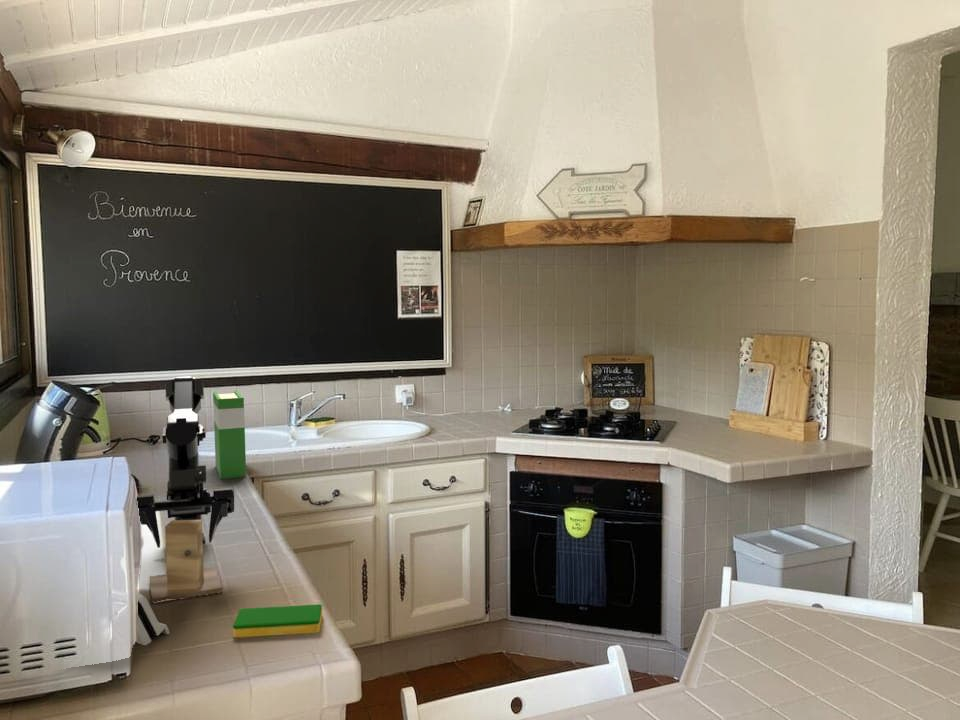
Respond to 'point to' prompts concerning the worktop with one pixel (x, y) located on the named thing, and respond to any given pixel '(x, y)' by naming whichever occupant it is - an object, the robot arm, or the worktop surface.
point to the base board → (162, 592)
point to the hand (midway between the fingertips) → (184, 544)
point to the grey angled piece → (148, 622)
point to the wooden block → (184, 554)
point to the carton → (229, 435)
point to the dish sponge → (278, 620)
